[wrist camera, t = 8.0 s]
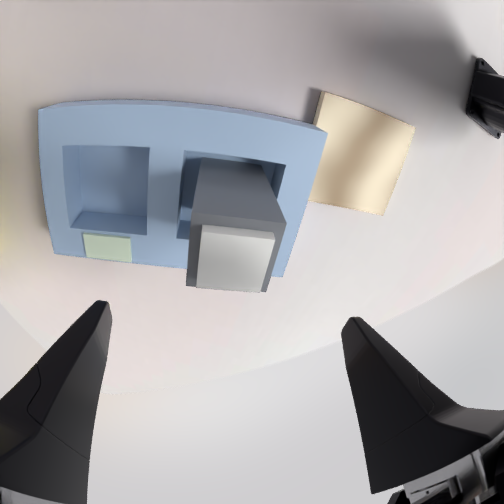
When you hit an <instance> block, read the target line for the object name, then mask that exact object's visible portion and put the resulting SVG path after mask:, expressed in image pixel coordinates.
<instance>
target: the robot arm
mask: <svg viewBox="0 0 504 504" xmlns="http://www.w3.org/2000/svg"><path fill="white" fill-rule="evenodd" d="M466 113H467V115H468V116H469V117H470V118H472V119H473V120H474V121H476V122H477V123H478V124H479V125H481V126H482V127H483V128H484V129H485V130H487V131H488V132H489V133H490V134H491V135H492V136H494V137H495V138H497V139H499V138H500V136H501V132H502V133H504V76H501V75H498V74H497V72H496V71H495V70H494V69H493V68H492V67H491V66H490V65H489V64H488V63H487V62H486V61H485V60H484V59H482V58H477V61H476V67H475V72H474V78H473V82H472V87H471V91H470V96H469V100H468V104H467V108H466ZM111 326H112V315H111V311H110V306H109V303H108V302H107V301H101V300H97V301H96V302H95V303H94V304H93V305H92V306H91V307H90V308H89V309H87V310H86V311H85V312H84V313H83V314H82V315H81V316H80V317H79V318H78V319H77V320H76V321H75V322H74V323H73V324H72V325H71V326H70V328H69V329H68V330H67V331H66V332H65V333H64V334H63V335H62V336H61V337H60V338H59V339H58V340H57V341H56V342H55V343H54V344H53V345H52V346H51V347H50V348H49V350H48V351H47V352H46V353H45V354H44V355H43V356H42V357H41V358H40V359H39V361H38V362H37V363H38V364H37V363H36V364H35V365H34V366H33V367H32V368H31V369H30V370H29V371H28V373H27V374H26V375H25V376H24V377H23V378H22V379H21V380H20V381H19V382H18V383H17V384H16V385H15V386H14V387H13V388H12V389H11V390H10V391H9V392H8V393H7V394H5V395H4V396H3V398H1V400H0V504H87V486H88V473H89V462H90V461H89V460H90V452H91V443H92V436H93V429H94V422H95V416H96V410H97V404H98V399H99V394H100V389H101V384H102V380H103V375H104V371H105V366H106V361H107V355H108V347H109V340H110V333H111ZM341 337H342V343H343V350H344V357H345V364H346V370H347V374H348V378H349V382H350V386H351V391H352V395H353V399H354V404H355V408H356V413H357V417H358V422H359V427H360V432H361V437H362V442H363V447H364V453H365V458H366V464H367V470H368V476H369V482H370V489H371V494H375V493H378V492H382V491H385V490H388V489H391V488H394V487H397V486H400V485H403V486H404V489H402V490H400V491H398V492H395V493H393V494H392V496H391V498H390V500H389V502H388V504H504V410H500V411H498V410H484V409H474V408H466V407H463V406H461V405H459V404H457V403H456V402H454V401H453V400H452V399H451V398H450V397H448V396H447V395H446V394H445V393H443V392H442V391H441V390H440V389H438V388H437V387H436V386H435V385H434V384H432V383H431V382H430V381H429V380H428V379H427V378H426V377H425V376H423V374H422V373H420V372H419V371H418V370H417V369H416V368H415V367H414V366H413V365H412V364H411V363H410V362H409V361H408V360H407V359H405V358H404V357H403V356H402V355H401V354H400V353H399V352H398V351H397V350H396V349H395V348H394V347H392V346H391V345H390V344H389V343H388V342H387V341H386V340H385V339H384V338H383V337H381V335H379V334H378V333H377V332H376V331H375V330H374V329H373V328H372V327H371V326H370V325H368V324H367V323H366V322H365V321H364V320H363V319H362V318H360V317H350V318H349V319H348V321H347V323H346V324H345V326H344V327H343V329H342V332H341Z"/></svg>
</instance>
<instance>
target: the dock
mask: <svg viewBox="0 0 504 504" xmlns="http://www.w3.org/2000/svg"><path fill="white" fill-rule="evenodd" d="M327 135H328V133H327V132H325V131H323V130H322V129H320V128H318V127H317V126H315V125H313V124H310V123H306V122H302V121H297V120H293V119H289V118H284V117H280V116H275V115H270V114H265V113H260V112H254V111H249V110H243V109H237V108H230V107H223V106H215V105H207V104H198V103H188V102H176V101H160V100H89V101H74V102H62V103H58V104H55V105H51V106H48V107H45V108H42V109H39V110H38V137H39V158H40V171H41V181H42V189H43V197H44V204H45V210H46V216H47V221H48V227H49V232H50V236H51V241H52V245H53V250H54V254H60V255H68V256H76V257H84V258H92V259H100V260H109V261H117V262H126V263H135V264H144V265H154V266H163V267H173V268H183V269H187V261H188V247H189V235H190V224H191V213H192V207H193V201H194V196H195V190H196V185H197V180H198V175H199V170H200V165H201V160H202V157H207V158H216V159H224V160H231V161H239V162H246V163H252V164H259V165H261V166H262V168H263V170H264V172H265V175H266V177H267V179H268V181H269V184H270V186H271V188H272V190H273V193H274V195H275V197H276V199H277V202H278V204H279V206H280V209H281V211H282V213H283V216H284V218H285V220H286V223H287V225H286V228H285V232H284V235H283V238H282V242H281V245H280V248H279V252H278V255H277V258H276V261H275V265H274V268H273V271H272V274H271V276H274V277H283V274H284V271H285V268H286V265H287V263H288V260H289V257H290V254H291V251H292V248H293V245H294V242H295V239H296V236H297V233H298V230H299V227H300V223H301V220H302V217H303V214H304V211H305V208H306V205H307V202H308V198H309V195H310V192H311V189H312V186H313V182H314V179H315V176H316V173H317V169H318V166H319V163H320V159H321V156H322V152H323V149H324V146H325V142H326V139H327Z"/></svg>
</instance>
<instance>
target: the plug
mask: <svg viewBox="0 0 504 504" xmlns="http://www.w3.org/2000/svg"><path fill="white" fill-rule="evenodd" d="M286 225H287V223H286V220H285V218H284V216H283V213H282V211H281V209H280V206H279V204H278V202H277V199H276V197H275V195H274V193H273V190H272V188H271V186H270V184H269V181H268V179H267V177H266V175H265V172H264V170H263V168H262V166H261V165H259V164H252V163H246V162H239V161H231V160H224V159H216V158H207V157H202V160H201V165H200V170H199V175H198V180H197V185H196V190H195V196H194V201H193V207H192V213H191V224H190V235H189V247H188V261H187V276H186V286H192V287H196V288H204V289H216V290H229V291H243V292H258V293H260V292H266V291H267V287H268V284H269V281H270V278H271V274H272V271H273V268H274V265H275V261H276V258H277V255H278V252H279V248H280V245H281V242H282V238H283V235H284V232H285V228H286Z"/></svg>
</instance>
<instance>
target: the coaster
mask: <svg viewBox="0 0 504 504" xmlns="http://www.w3.org/2000/svg"><path fill="white" fill-rule="evenodd" d="M313 125H315V126H317V127H318V128H320V129H322V130H323V131H325V132H327V133H328V135H327V139H326V142H325V146H324V149H323V152H322V156H321V159H320V163H319V166H318V169H317V173H316V176H315V179H314V182H313V186H312V189H311V192H310V195H309V198H308V201H311V202H317V203H322V204H328V205H333V206H338V207H344V208H349V209H354V210H359V211H363V212H368V213H373V214H378V215H382V216H383V214H384V212H385V210H386V207H387V205H388V202H389V200H390V198H391V195H392V193H393V190H394V188H395V185H396V182H397V180H398V177H399V175H400V172H401V169H402V167H403V164H404V161H405V158H406V155H407V153H408V150H409V147H410V144H411V141H412V138H413V135H414V132H415V129H416V128H415V127H413V126H411V125H409V124H406V123H404V122H402V121H400V120H398V119H396V118H393V117H391V116H389V115H386V114H384V113H382V112H379V111H377V110H374V109H372V108H369V107H367V106H364V105H362V104H359V103H356V102H353V101H351V100H348V99H345V98H342V97H339V96H336V95H333V94H330V93H327V92H322V91H321V94H320V98H319V102H318V106H317V110H316V113H315V117H314V121H313Z"/></svg>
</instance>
